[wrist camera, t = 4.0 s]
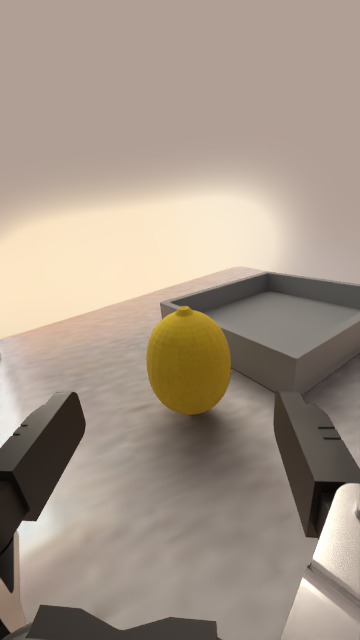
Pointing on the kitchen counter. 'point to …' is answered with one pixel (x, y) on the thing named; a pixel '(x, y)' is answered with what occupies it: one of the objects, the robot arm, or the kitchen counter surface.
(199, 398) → the lemon
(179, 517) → the kitchen counter surface
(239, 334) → the tray
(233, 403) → the kitchen counter surface
